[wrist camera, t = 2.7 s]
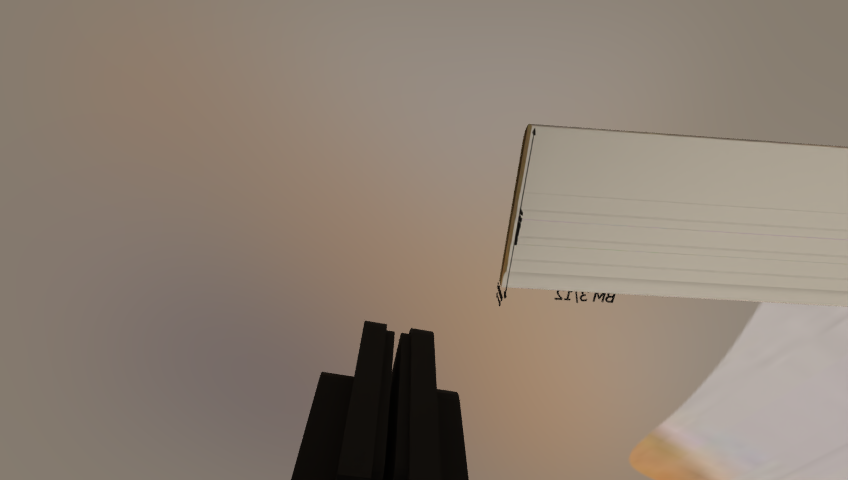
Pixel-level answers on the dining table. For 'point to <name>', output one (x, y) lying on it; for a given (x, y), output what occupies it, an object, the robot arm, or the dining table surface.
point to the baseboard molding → (678, 217)
